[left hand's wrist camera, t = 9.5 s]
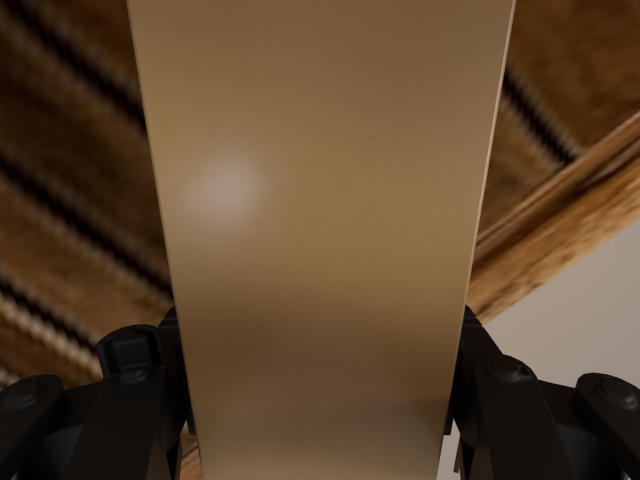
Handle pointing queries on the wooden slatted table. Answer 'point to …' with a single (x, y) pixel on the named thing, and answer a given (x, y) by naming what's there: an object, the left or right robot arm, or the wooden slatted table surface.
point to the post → (320, 219)
